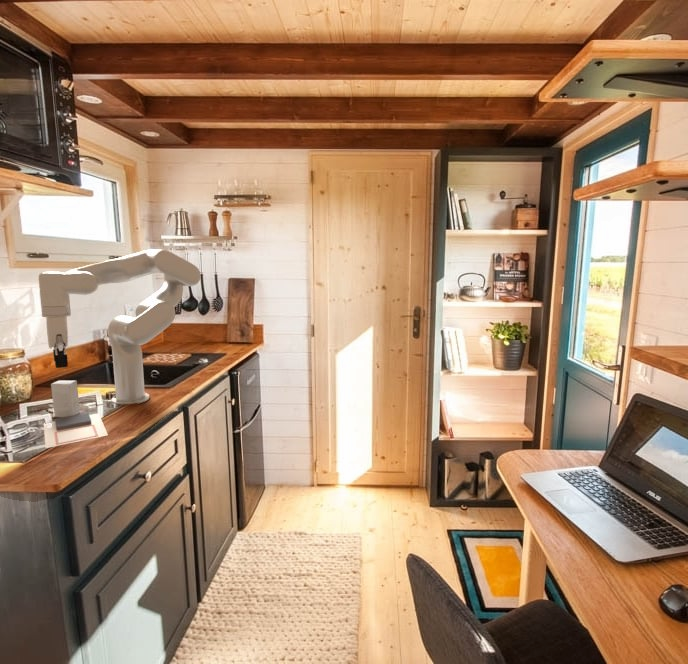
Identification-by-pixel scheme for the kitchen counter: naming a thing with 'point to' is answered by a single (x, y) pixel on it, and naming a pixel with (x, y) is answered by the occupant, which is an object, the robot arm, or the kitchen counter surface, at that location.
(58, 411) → the skincare box
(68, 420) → the ink pad
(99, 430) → the stamping board
